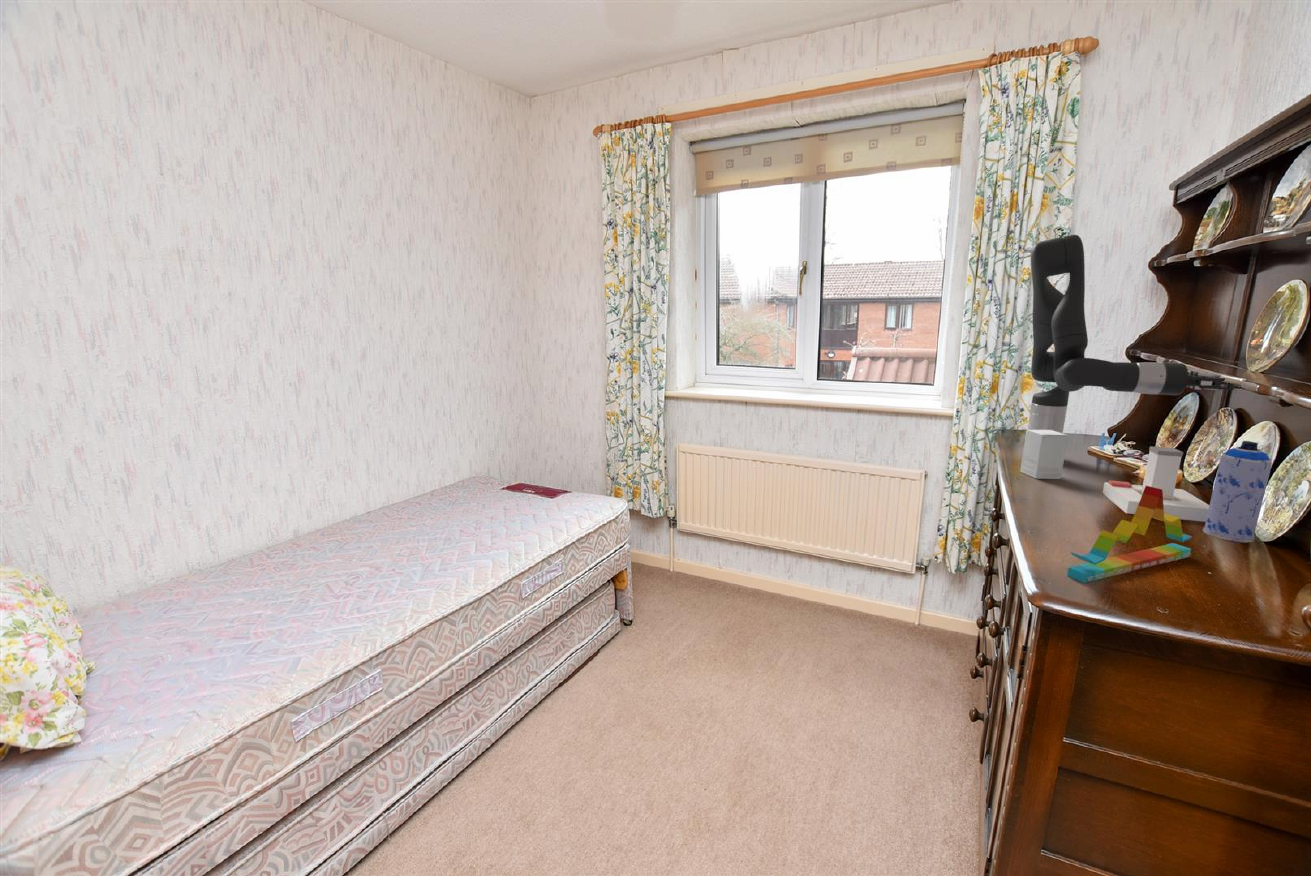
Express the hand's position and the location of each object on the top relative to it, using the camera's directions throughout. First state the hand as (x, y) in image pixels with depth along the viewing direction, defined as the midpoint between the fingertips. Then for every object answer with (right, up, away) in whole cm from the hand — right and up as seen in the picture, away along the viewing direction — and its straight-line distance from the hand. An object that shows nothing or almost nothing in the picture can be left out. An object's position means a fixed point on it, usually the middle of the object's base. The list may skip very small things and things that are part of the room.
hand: (1243, 382), depth 133 cm
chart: (-47, -37, -26) cm, 65 cm away
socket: (-15, -29, +6) cm, 34 cm away
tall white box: (-15, -29, +6) cm, 34 cm away
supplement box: (-26, -24, +32) cm, 47 cm away
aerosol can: (-15, -33, -11) cm, 38 cm away
